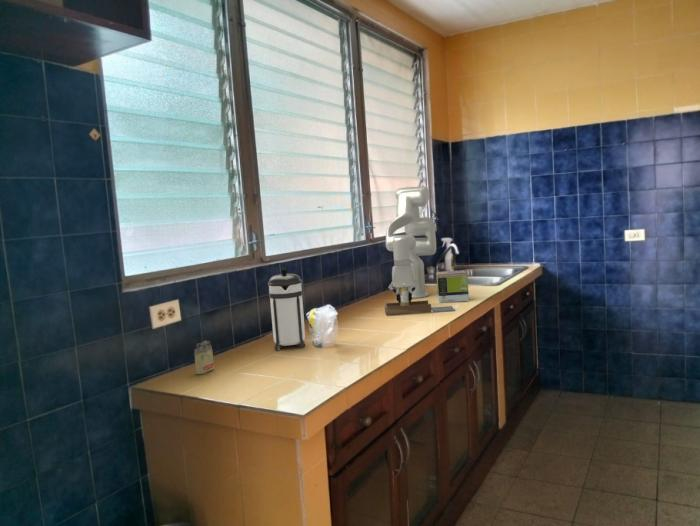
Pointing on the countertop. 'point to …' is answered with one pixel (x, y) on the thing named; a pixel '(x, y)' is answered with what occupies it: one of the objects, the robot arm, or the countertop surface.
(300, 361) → the countertop surface
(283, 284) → the coffee press
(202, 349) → the pale green labeled container
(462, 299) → the tea box
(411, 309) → the walnut lane
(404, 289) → the sprinkles bottle
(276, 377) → the countertop surface
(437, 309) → the mat
